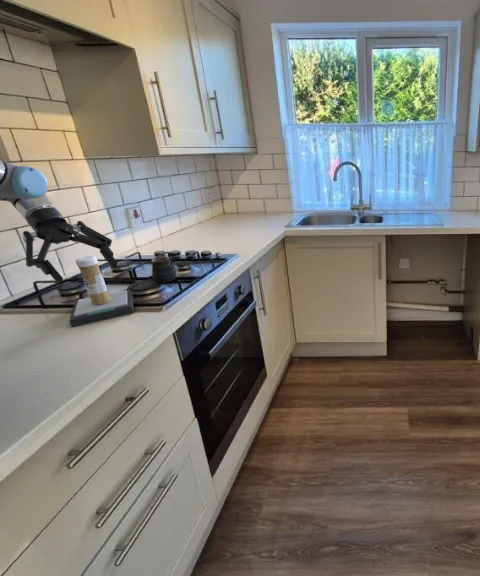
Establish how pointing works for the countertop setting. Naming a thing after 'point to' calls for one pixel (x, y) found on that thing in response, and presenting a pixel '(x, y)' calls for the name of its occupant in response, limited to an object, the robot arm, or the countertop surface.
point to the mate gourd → (163, 270)
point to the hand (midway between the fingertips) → (89, 273)
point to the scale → (101, 308)
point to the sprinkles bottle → (93, 280)
